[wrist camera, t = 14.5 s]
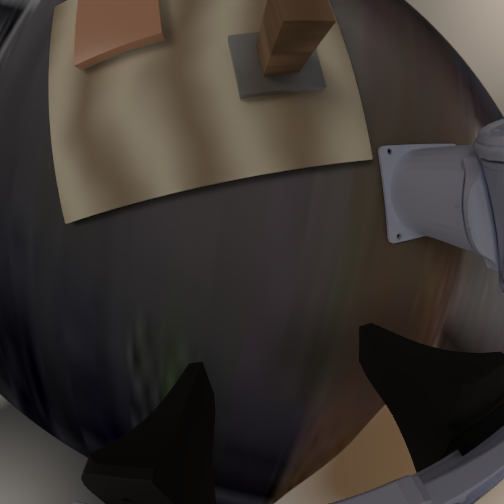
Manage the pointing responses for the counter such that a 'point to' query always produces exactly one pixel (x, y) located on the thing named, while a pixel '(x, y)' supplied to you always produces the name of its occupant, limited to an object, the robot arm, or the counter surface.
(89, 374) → the counter surface
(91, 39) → the tile
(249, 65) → the wooden post on base
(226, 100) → the board
